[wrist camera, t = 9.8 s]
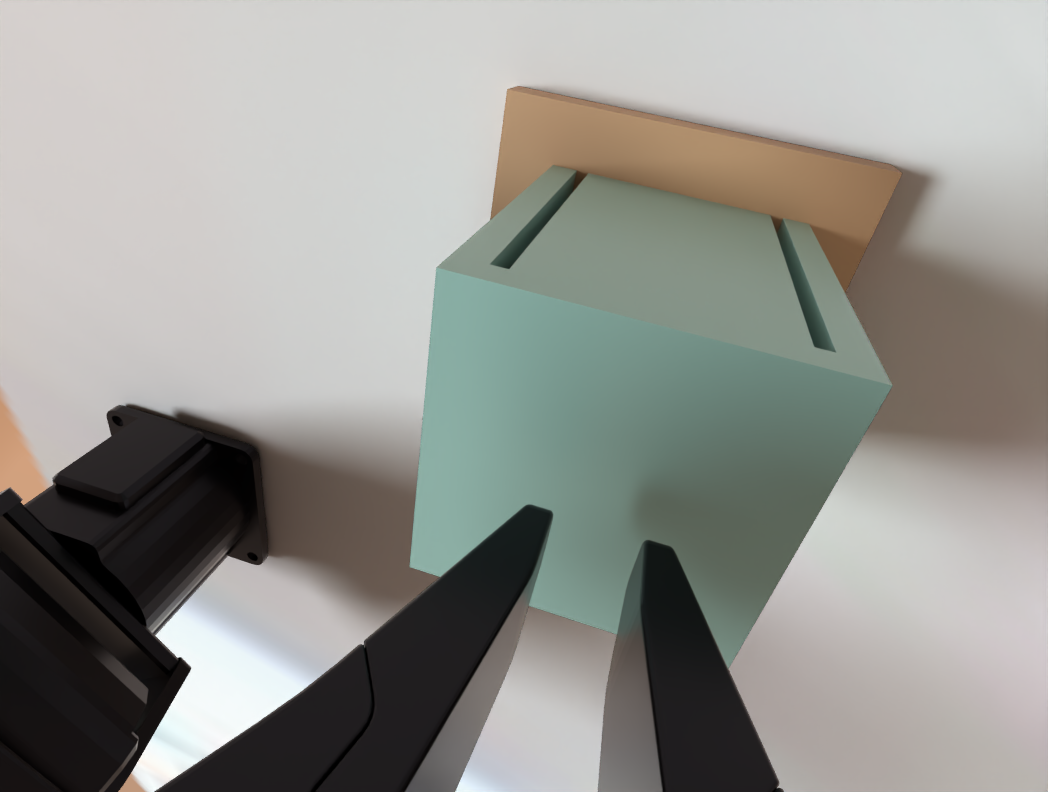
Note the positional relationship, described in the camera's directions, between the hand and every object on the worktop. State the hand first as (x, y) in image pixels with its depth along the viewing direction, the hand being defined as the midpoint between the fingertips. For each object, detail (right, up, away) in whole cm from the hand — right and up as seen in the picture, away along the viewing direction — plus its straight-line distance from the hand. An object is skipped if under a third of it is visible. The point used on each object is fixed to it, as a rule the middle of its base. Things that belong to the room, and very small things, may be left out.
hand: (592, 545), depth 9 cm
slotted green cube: (+2, +4, +8) cm, 9 cm away
